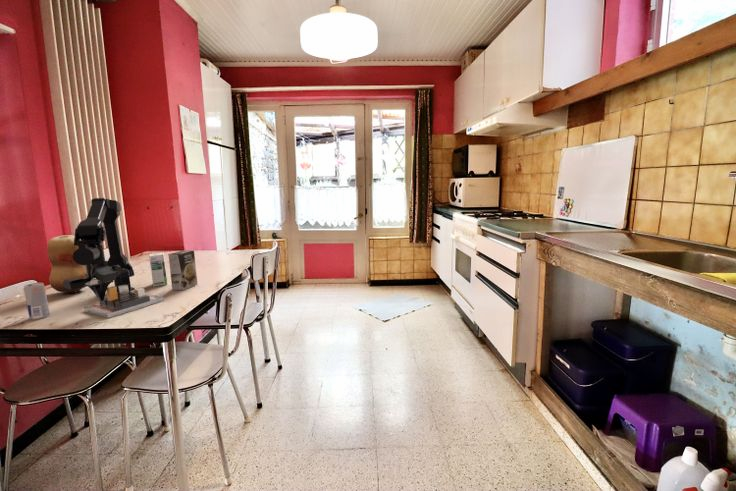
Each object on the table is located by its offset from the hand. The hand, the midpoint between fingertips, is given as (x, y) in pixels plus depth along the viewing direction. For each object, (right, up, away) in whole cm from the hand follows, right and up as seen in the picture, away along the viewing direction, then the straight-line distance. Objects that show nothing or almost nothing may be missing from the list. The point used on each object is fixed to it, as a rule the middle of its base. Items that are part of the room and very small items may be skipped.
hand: (101, 300), depth 128 cm
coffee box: (+15, +1, +30) cm, 34 cm away
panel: (+4, -3, +7) cm, 9 cm away
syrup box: (0, +2, +36) cm, 36 cm away
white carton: (-20, -6, -3) cm, 21 cm away
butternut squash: (-32, -1, +26) cm, 41 cm away
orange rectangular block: (+2, 0, +3) cm, 4 cm away
